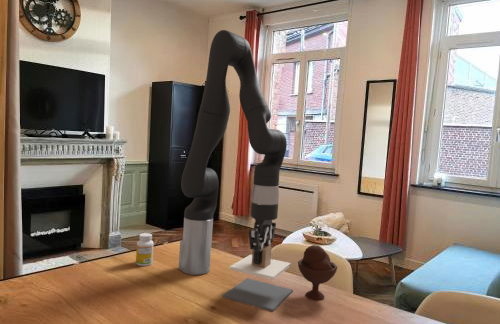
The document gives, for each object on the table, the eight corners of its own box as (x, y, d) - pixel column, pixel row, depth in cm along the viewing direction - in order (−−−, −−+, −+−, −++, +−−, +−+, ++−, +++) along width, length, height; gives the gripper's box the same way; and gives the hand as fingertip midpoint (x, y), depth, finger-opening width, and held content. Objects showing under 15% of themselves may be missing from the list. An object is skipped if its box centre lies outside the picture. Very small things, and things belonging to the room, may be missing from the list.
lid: (229, 269, 101) (230, 248, 101) (250, 257, 113) (251, 238, 112) (273, 279, 95) (275, 257, 95) (290, 265, 107) (292, 246, 107)
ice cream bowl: (335, 307, 100) (339, 253, 99) (293, 301, 102) (297, 247, 101) (334, 292, 110) (338, 242, 109) (296, 286, 112) (300, 238, 111)
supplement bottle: (140, 259, 126) (142, 231, 126) (155, 261, 125) (157, 233, 125) (132, 264, 121) (134, 235, 120) (148, 267, 120) (149, 237, 119)
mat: (222, 297, 101) (222, 294, 101) (247, 279, 115) (247, 278, 115) (273, 311, 95) (273, 309, 95) (292, 291, 108) (292, 289, 108)
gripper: (262, 196, 111) (259, 252, 112) (241, 202, 98) (237, 266, 99) (286, 199, 108) (282, 257, 109) (267, 206, 95) (262, 271, 96)
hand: (260, 261), depth 104 cm, fingers closed on lid, 4 cm apart
